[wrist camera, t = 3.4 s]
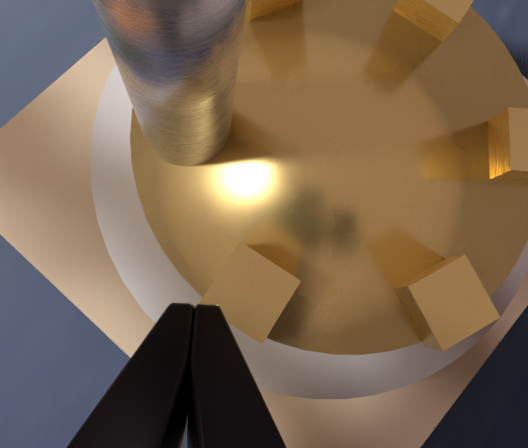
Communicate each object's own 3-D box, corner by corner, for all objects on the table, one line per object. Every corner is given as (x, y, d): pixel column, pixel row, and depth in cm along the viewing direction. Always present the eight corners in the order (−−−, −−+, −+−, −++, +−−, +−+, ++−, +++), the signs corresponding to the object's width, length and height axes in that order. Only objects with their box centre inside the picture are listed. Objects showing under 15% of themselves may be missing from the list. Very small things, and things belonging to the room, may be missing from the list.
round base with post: (344, 439, 14) (768, 857, 3) (51, 163, 15) (-393, -235, 4) (571, 154, 17) (1235, -118, 6) (315, -77, 17) (502, -736, 6)
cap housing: (331, 540, 17) (357, 591, 14) (-43, 186, 17) (-95, 161, 14) (608, 177, 20) (676, 155, 17) (292, -108, 21) (306, -176, 18)
